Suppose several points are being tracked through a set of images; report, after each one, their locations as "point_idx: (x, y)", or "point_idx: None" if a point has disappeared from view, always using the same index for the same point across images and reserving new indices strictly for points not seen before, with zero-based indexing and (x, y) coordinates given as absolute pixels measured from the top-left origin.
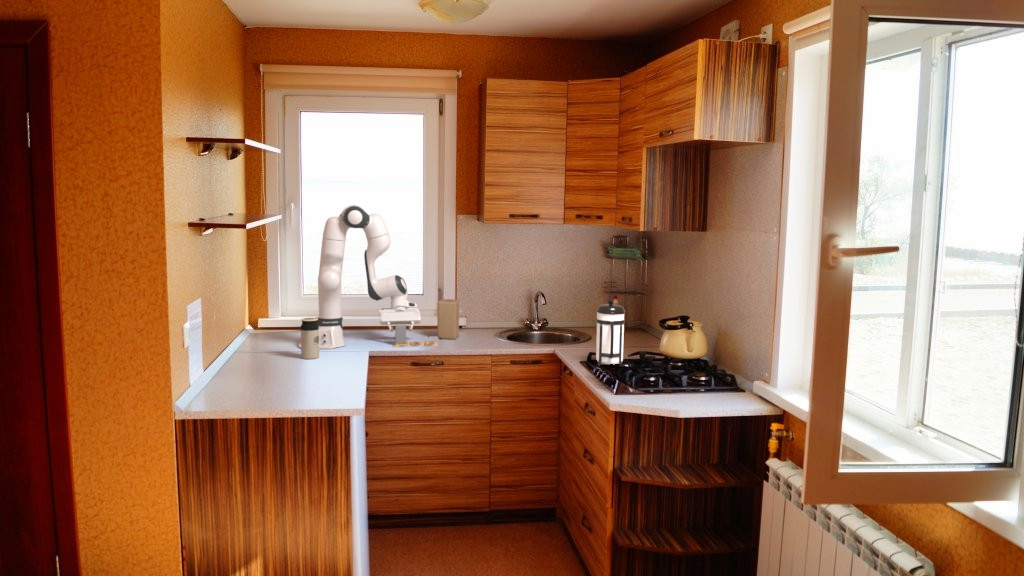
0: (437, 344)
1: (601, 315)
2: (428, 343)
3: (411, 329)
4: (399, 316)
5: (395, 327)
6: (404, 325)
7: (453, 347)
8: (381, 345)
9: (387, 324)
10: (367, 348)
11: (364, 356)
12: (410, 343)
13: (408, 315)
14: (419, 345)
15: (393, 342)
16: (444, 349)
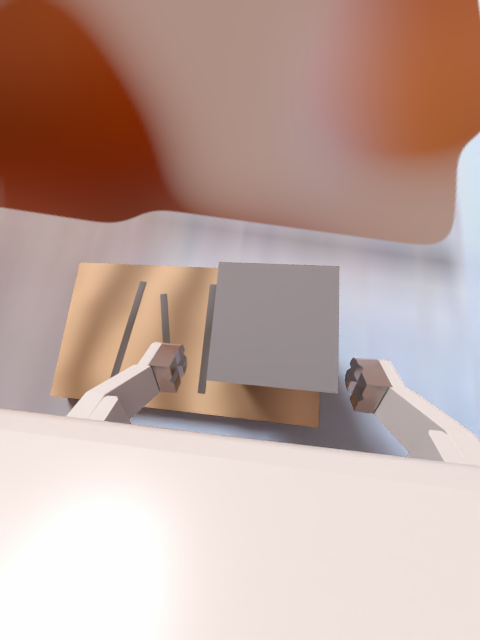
0: (73, 295)
1: None
2: (109, 333)
3: (163, 344)
4: (282, 576)
5: (334, 333)
6: (219, 375)
7: (18, 288)
8: (383, 432)
9: (464, 443)
10: (475, 350)
11: (473, 145)
12: (207, 353)
13: (37, 572)
14: (169, 284)
15: (309, 416)
16: (71, 249)
